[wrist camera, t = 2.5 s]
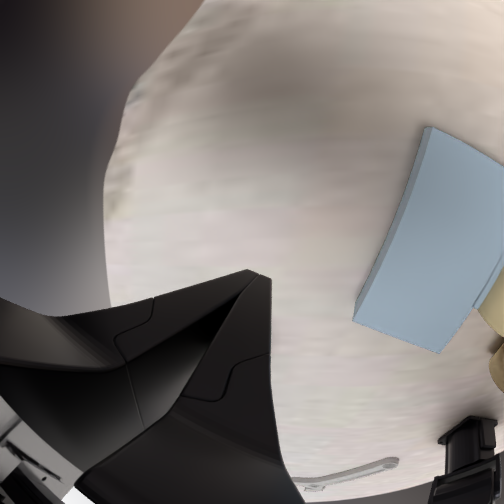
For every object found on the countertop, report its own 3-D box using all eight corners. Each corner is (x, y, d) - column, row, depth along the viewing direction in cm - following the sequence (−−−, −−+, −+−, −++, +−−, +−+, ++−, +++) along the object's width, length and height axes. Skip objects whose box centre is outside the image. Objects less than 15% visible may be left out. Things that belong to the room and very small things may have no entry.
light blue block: (476, 349, 18) (486, 388, 14) (355, 302, 21) (348, 341, 17) (555, 210, 11) (586, 232, 7) (424, 127, 14) (442, 126, 10)
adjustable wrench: (392, 452, 28) (391, 462, 26) (413, 463, 28) (412, 472, 26) (284, 476, 41) (281, 483, 40) (306, 486, 41) (304, 493, 40)
